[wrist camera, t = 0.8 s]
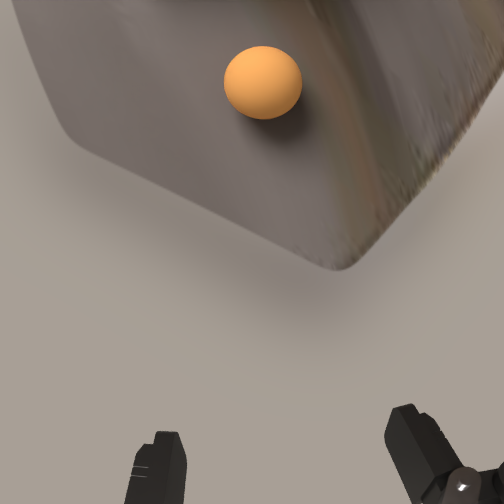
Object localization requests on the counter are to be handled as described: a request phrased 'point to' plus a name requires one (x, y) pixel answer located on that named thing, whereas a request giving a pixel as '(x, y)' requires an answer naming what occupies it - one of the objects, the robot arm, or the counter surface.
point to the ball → (263, 82)
